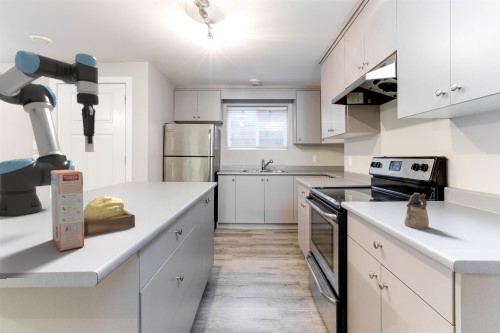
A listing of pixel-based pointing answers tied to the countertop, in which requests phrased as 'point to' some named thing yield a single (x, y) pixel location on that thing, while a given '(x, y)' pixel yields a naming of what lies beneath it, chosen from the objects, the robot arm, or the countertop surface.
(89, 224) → the frame
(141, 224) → the countertop surface
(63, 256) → the countertop surface
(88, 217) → the sculpture
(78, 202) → the cracker box
